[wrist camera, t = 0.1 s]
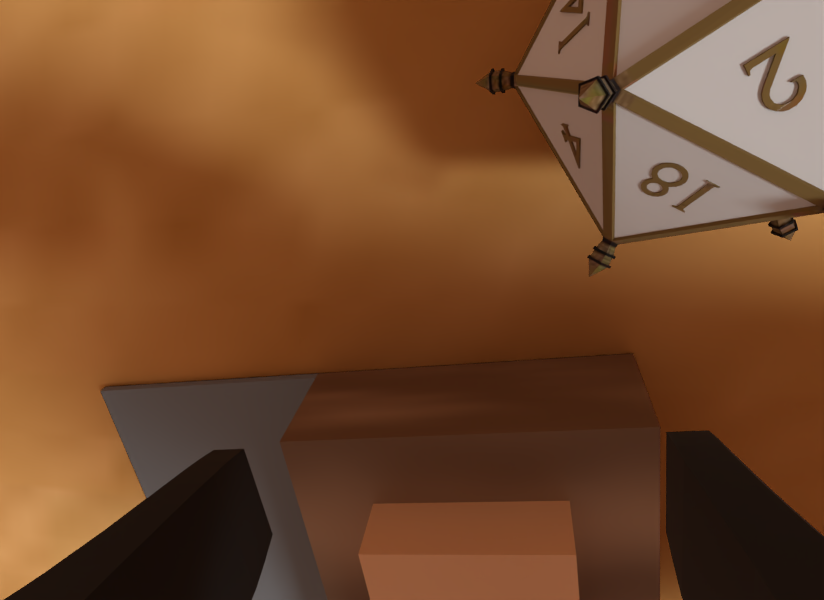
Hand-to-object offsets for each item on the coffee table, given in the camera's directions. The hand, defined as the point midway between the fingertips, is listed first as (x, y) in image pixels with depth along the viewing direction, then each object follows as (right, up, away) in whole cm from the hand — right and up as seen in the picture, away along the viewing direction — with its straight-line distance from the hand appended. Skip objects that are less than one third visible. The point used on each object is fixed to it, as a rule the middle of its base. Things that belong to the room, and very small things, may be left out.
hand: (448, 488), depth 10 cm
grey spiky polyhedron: (+6, +10, +6) cm, 13 cm away
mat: (-7, -6, +15) cm, 18 cm away
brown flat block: (+2, -5, +13) cm, 15 cm away
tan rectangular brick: (+2, -7, +10) cm, 12 cm away
